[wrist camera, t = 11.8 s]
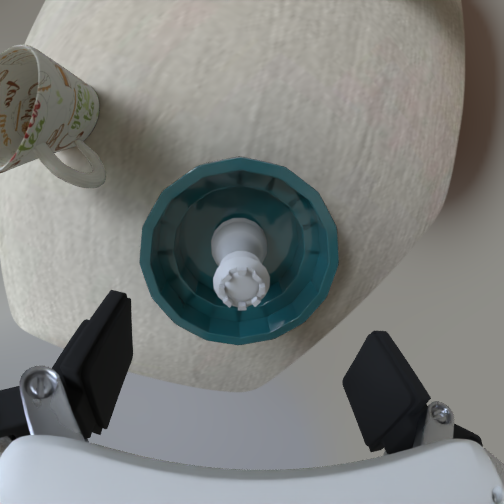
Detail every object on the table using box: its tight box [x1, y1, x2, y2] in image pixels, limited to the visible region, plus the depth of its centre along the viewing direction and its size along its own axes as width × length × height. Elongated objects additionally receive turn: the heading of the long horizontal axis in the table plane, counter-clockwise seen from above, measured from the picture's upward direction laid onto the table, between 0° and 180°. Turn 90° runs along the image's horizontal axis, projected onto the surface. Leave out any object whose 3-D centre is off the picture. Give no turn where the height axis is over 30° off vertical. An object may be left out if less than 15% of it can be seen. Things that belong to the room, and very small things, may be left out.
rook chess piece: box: [211, 218, 270, 310], centre depth 18 cm, size 4×4×8 cm
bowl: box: [140, 156, 339, 345], centre depth 20 cm, size 14×14×5 cm
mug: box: [0, 45, 106, 188], centre depth 13 cm, size 8×13×10 cm, turn 43°
